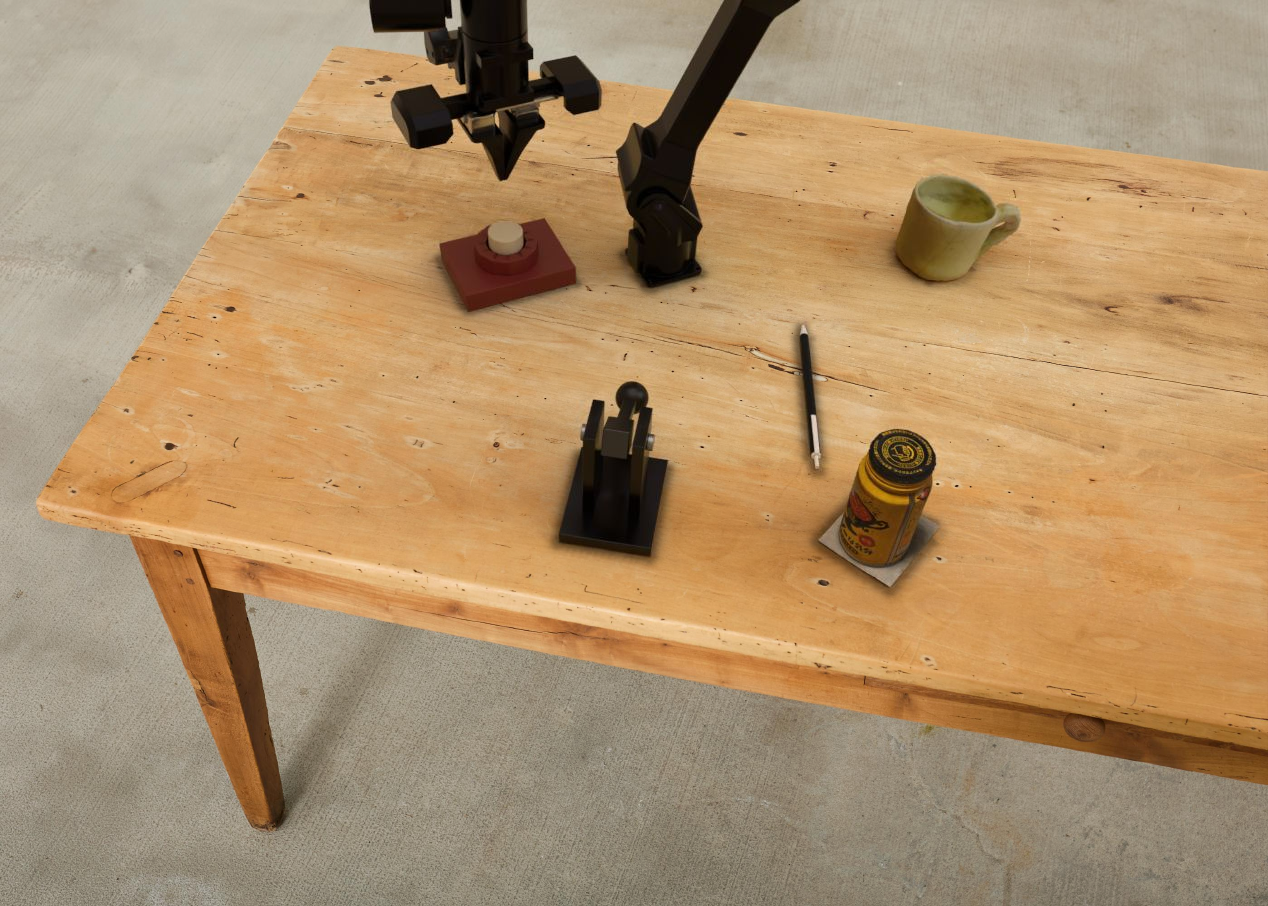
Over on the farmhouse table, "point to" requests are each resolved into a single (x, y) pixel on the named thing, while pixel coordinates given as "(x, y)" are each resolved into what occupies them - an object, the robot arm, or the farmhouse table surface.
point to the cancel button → (505, 237)
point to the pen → (810, 397)
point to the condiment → (887, 506)
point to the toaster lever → (623, 420)
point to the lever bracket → (614, 490)
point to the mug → (951, 227)
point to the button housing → (507, 266)
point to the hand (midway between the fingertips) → (501, 178)
